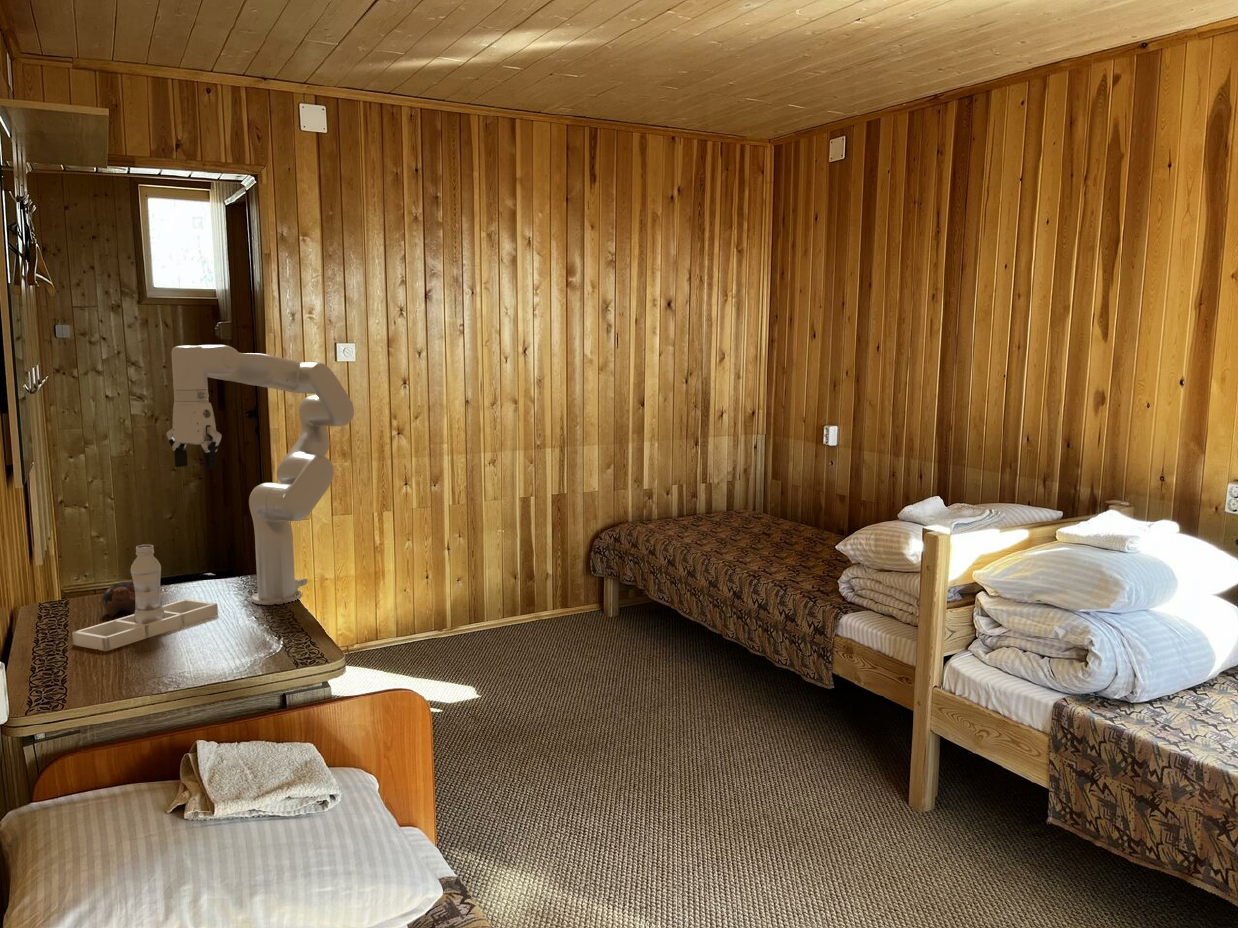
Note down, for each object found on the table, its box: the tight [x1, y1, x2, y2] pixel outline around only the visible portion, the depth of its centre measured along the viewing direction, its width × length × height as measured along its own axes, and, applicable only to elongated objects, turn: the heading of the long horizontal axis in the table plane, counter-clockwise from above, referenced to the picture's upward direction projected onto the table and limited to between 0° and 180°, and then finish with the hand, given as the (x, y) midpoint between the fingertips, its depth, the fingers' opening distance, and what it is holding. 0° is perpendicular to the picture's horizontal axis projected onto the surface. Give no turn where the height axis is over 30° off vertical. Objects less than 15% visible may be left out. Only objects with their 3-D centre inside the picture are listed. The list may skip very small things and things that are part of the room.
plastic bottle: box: [130, 544, 165, 624], centre depth 222 cm, size 6×7×20 cm
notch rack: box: [71, 598, 219, 652], centre depth 222 cm, size 31×11×3 cm, turn 156°
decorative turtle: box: [101, 581, 136, 617], centre depth 237 cm, size 10×15×8 cm, turn 27°
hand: (195, 467), depth 225 cm, fingers open, 9 cm apart
